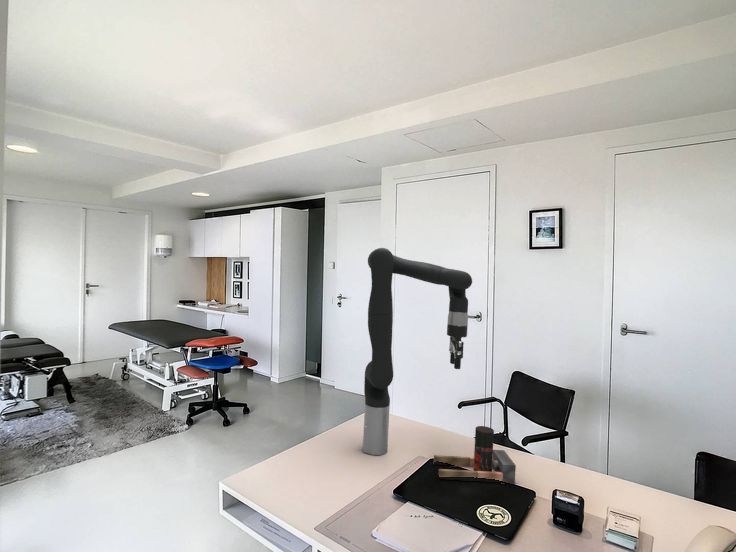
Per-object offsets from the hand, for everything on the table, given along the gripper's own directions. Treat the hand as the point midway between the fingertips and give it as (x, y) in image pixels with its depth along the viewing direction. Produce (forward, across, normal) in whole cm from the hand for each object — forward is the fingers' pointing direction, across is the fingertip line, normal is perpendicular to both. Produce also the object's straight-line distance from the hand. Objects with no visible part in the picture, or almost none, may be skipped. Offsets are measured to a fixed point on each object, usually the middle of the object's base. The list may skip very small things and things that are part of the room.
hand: (454, 366), depth 150 cm
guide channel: (+32, +17, +4) cm, 36 cm away
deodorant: (+32, +17, +8) cm, 37 cm away
